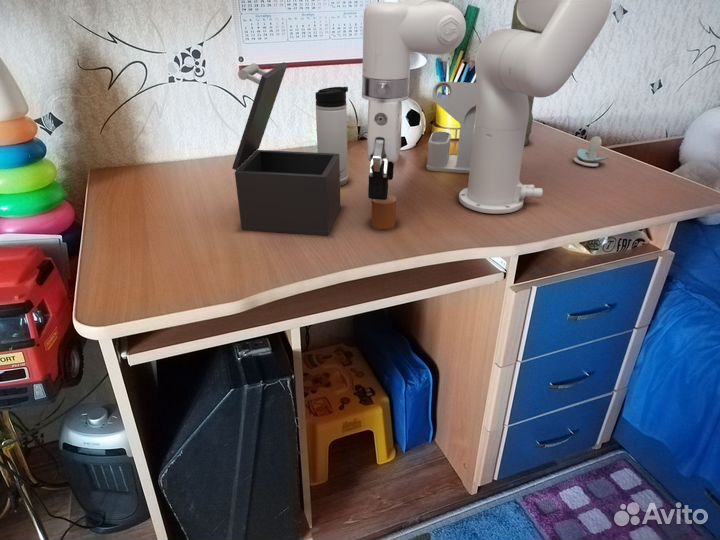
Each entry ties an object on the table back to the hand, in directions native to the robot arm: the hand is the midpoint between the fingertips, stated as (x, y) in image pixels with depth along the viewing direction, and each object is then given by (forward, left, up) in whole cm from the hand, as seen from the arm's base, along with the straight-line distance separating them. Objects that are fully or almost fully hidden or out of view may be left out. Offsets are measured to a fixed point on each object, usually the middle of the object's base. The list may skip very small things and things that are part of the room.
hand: (381, 188), depth 95 cm
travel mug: (+13, -20, -7) cm, 25 cm away
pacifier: (-45, -41, -7) cm, 61 cm away
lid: (+21, 0, +12) cm, 24 cm away
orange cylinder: (0, 0, -7) cm, 7 cm away
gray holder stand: (-15, -35, -7) cm, 39 cm away
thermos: (-28, -55, -7) cm, 63 cm away
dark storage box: (+16, 0, -7) cm, 18 cm away
